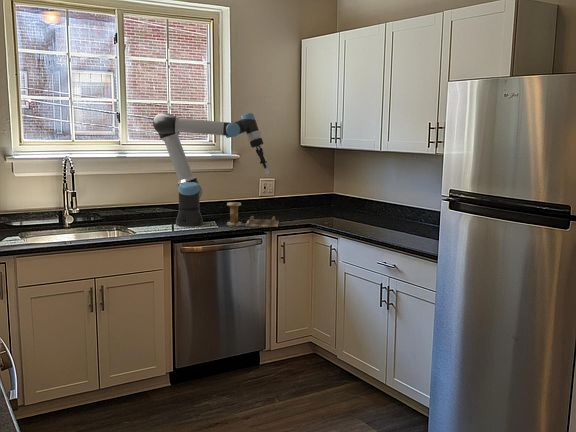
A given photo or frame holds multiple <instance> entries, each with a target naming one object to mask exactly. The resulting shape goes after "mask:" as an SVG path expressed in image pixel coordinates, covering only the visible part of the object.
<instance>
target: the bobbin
mask: <svg viewBox="0 0 576 432" xmlns="http://www.w3.org/2000/svg"><path fill="white" fill-rule="evenodd" d="M226 206H228V207H229V221H227V222H226V226H229V227H238V226H239V225H240V226H241V225H242V222H241V221H239V207H242V203H241V202H240V201H239V202H238V201H237V202H235V201H233V202H226Z"/></svg>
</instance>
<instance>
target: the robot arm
mask: <svg viewBox="0 0 576 432" xmlns="http://www.w3.org/2000/svg"><path fill="white" fill-rule="evenodd" d="M152 126H153V129H154V130H155V131H156V132H157V134H158V137H159V139H160V140H161V141H163V142H164V144H165V146H166V147H165V148H166V149H167V153H168V155H169V158H170V160H171V162H172V166H173V168H174V171H175V173H176V177H177V179H178V181H177V186H178V189H177V190H178V213H177V216H176V219H175V226H181V227H196V226H202V225H204V219H203V217H202V216H203V215H202V214H201V211H200V199H201V197H202V196H203V195H202V194H203V189H202V187H201V185H200V184H199V181H198V178H197V177H196V176H195V175H193V172H192V170H191V166H190V164H189V162H188V159H187V155H186V153H185V149H184V148H183V145H182V142H181V140H180V137H179V135H180V133H189V134H199V135H200V134H201V135H212V136H213V135H214V136H224V137H225V138H226V139H229V138H233V137H237V136H239V135H240V134H245V133H246V136H247V139H248V141H249V145H250V147H251V149H254V148H255V153H256V155H257V156H258V158H259V159H260V161H259V164H260V165H261V166H262V169H263V172H264V175H265V176H266V175H269V174H270V173H271V172H270V170H269V168H268V164H267V163H268V161H266V159H265V156H264V150H263V147H261V146H262V145H264V141H263V138H262V135H261V134H262V132H261V131H260V130H259V126H258V123H257V120H256V118H255V115H254V113H252V112H248V113H245V114H242V115H241V116H240V120H237V121H233V122H227V121H225V122H224V121H216V120H203V119H193V118H182V117H179V116H178V115H173V114H171V113H169V112H163V113H158V114H156V115H155V116H154V118H153V120H152Z"/></svg>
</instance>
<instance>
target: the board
mask: <svg viewBox="0 0 576 432" xmlns="http://www.w3.org/2000/svg"><path fill="white" fill-rule="evenodd" d="M279 224H280V220H276V215H275V216H274V215H273V216H272V217H271V219H255V216H254V215H251V216H250V217H249V219H248V220H247V221H246V223H245V227H257V228H260V227H264V228H265V227H266V228H278V227H279Z"/></svg>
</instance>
